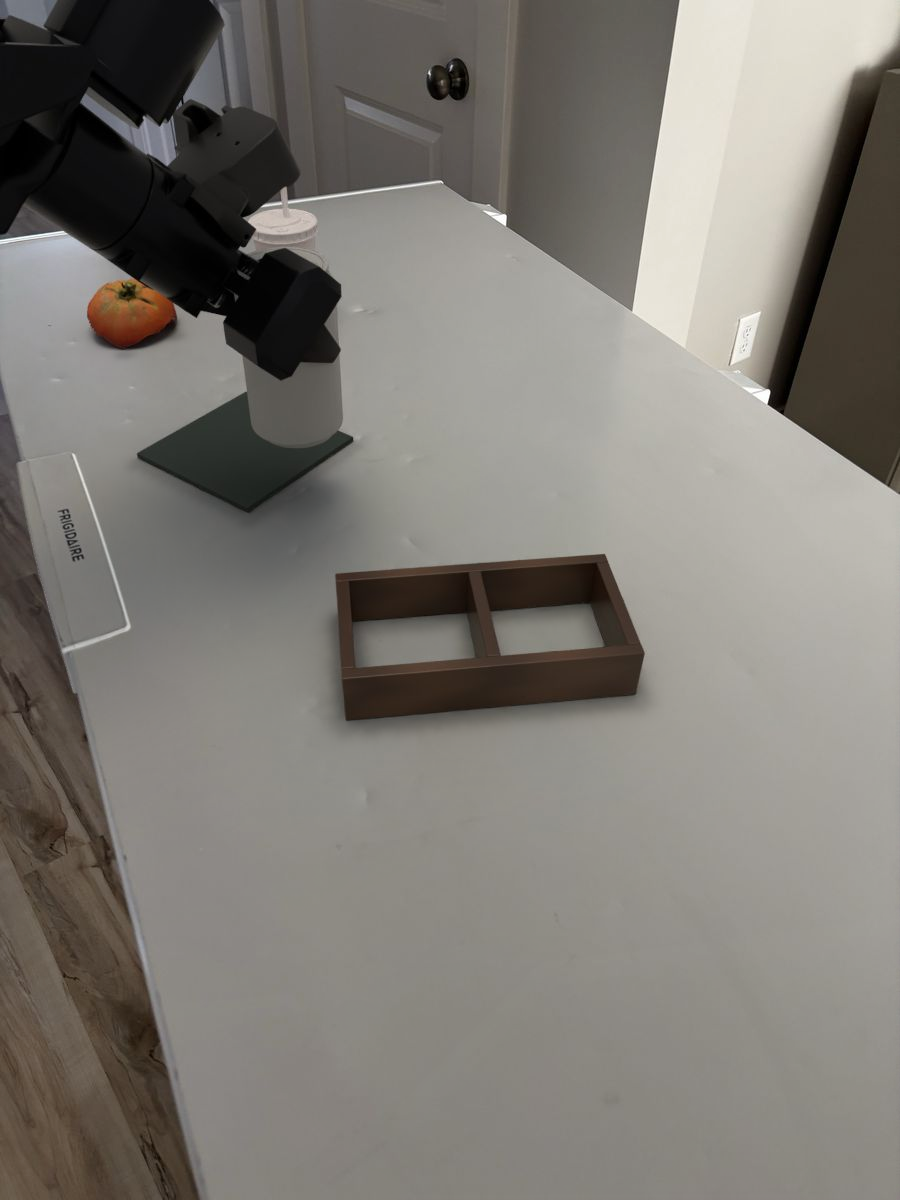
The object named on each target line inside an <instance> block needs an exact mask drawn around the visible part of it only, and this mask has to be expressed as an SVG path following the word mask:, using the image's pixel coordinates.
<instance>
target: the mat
mask: <svg viewBox="0 0 900 1200" xmlns="http://www.w3.org/2000/svg"><path fill="white" fill-rule="evenodd" d="M352 442H354V436H352V435H350V434H348V433H345V432H343V431H340V430H338V431H337V432H336V433H335V434H333V435H332V436H331V437H330V438H329V439H328V440H327V441H325V442H323V443H321V444H318V445H315V446H312V447H306V448H286V447H281V446H278V445H275V444H273V443H271V442H269V441H267V440H265V439H263V438H261V437H260V436H259V435H257V434H256V432H255V431H254V430H253V428H252V425H251V418H250V411H249V403H248V395H247V391H244V392H242V393H240V394H238V395H236V396H235V397H234V398H231V399H230V400H228V401H226V402H225V403H223V404H221V405H219V406H218V407H216V408H214V409H212V410H211V411H209V412H207V413H205V414H204V415H202V416H200V417H198V418H196V419H195V420H193V421H191V422H189V423H188V424H186V425H184V426H182V427H181V428H179V429H177V430H176V431H173V432H172V433H170V434H167V435H166V436H164V437H163V438H161V439H159V440H158V441H156V442H154V443H152V444H151V445H148V446H146V447H145V448H143V449H142V450H140V451H138V452H137V453H136V456H137V458H138V459H140V460H142V461H144V462H146V463H148V464H150V465H152V466H154V467H156V468H158V469H160V470H161V471H164V472H166V473H168V474H170V475H172V476H174V477H176V478H178V479H181V480H182V481H184V482H186V483H188V484H190V485H192V486H194V487H196V488H198V489H200V490H202V491H204V492H206V493H208V494H210V495H212V496H214V497H216V498H218V499H220V500H222V501H224V502H226V503H228V504H230V505H232V506H234V507H236V508H239V509H240V510H242V511H245V512H246V513H249V512H250V511H253V509H255V508H257V507H258V506H260V505H261V504H263V503H264V502H266V501H267V500H268V499H270V498H271V497H272V496H274V495H275V494H277V493H278V492H280V491H281V490H283V489H284V488H286V487H287V486H289V485H290V484H292V483H294V482H295V481H296V480H297V479H299V478H301V477H302V476H304V475H305V474H307V473H308V472H309V471H311V470H312V469H314V468H316V467H318V465H320V464H321V463H323V462H324V461H326V460H327V459H329V458H330V457H331V456H333V455H334V454H336V453H337V452H339V451H341V450H342V449H343V448H345V447H346V446H348V445H350V444H351V443H352Z"/></svg>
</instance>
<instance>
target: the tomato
mask: <svg viewBox="0 0 900 1200" xmlns="http://www.w3.org/2000/svg"><path fill="white" fill-rule="evenodd" d="M86 318H87V320H88V324H90V328H91V329H92V330H93V332H94V333H95V334H96V335H97V336H99V337H100V338H103V339H105V340H106V341H107V342H108V343H110V344H112V345H113V346H115V347H116V348H120V349H122V350H125V349H126V348H127V347H130V346H134V345H136V344H138V343H140V342H141V341H142V340H144V339H145V338H147V337H148V336H150V335H154V334H159V333H160V332H161V330H164V329H165V327H166V325H167V324H170V323H171V319H172V320H174V326H173V328H175V327H176V326H177V321H178V315H177V310H176V308H175V304H174V303H173V302H171V301H170V300H168V299H167V298H166V297H164V296H163V295H161V294H160V293H158V292H157V291H155V290H154V289H153V290H151V289H149V288H148V287H146V286H145V285H143V284H142V283H140V282H138V281H137V280H135V279H134V278H129V279H123V280H115V281H113V282H112V281H111V282H107V283H105V284H104V285H102V286H101V287H100V288H98V289H97V291H96V292H95V293H94V295H93V297H92V298H91V299H90V300H89V302H88V305H87V309H86ZM174 330H175V329H173V331H174Z"/></svg>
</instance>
